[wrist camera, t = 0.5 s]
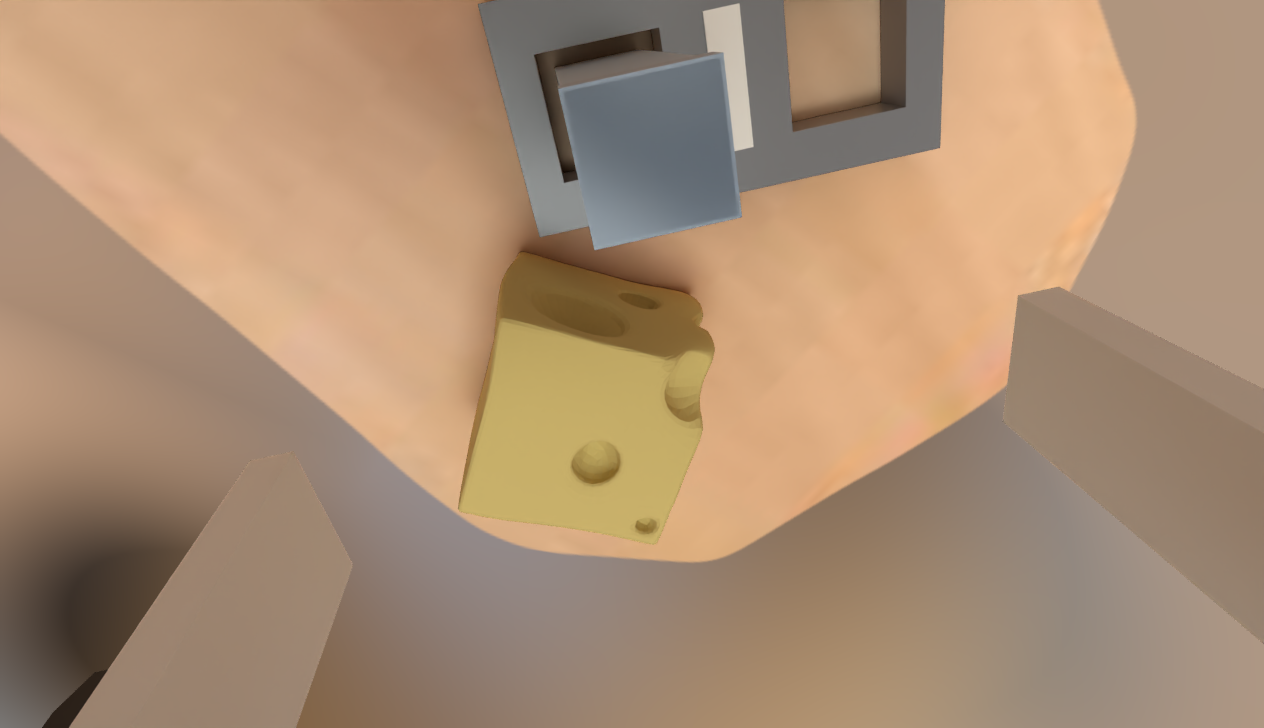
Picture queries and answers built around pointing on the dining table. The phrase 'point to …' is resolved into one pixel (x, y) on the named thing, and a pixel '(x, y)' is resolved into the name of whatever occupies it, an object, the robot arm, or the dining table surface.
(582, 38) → the port panel
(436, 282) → the dining table surface
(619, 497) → the cheese
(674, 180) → the plug
